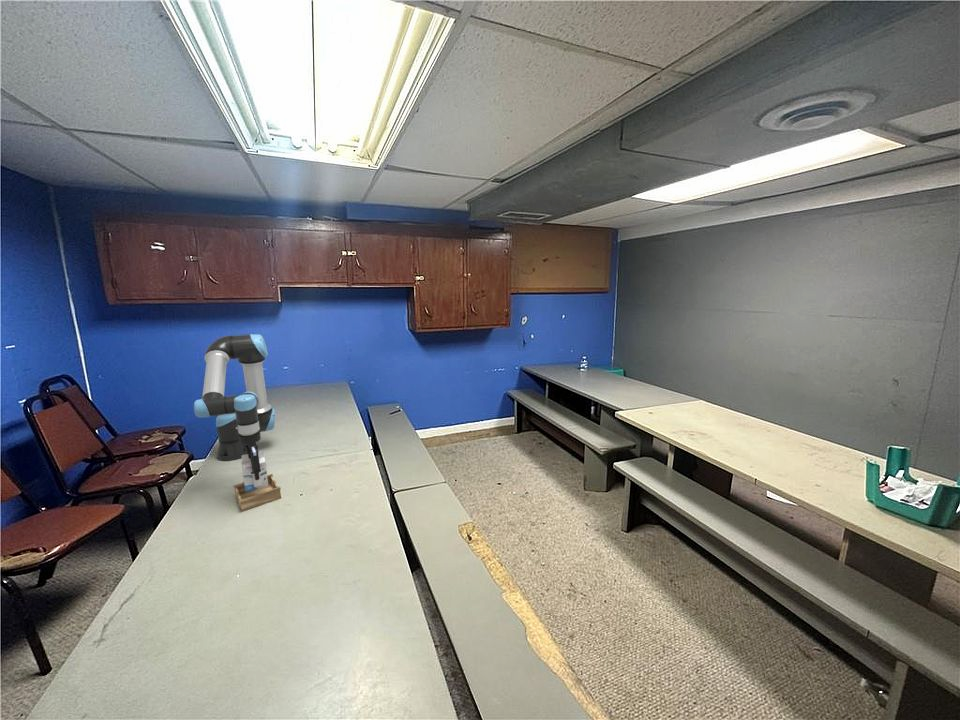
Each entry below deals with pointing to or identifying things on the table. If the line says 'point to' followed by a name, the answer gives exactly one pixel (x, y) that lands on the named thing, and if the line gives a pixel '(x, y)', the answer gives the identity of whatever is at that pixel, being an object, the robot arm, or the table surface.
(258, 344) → the robot arm
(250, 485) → the ink box
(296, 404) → the table surface
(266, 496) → the crate
